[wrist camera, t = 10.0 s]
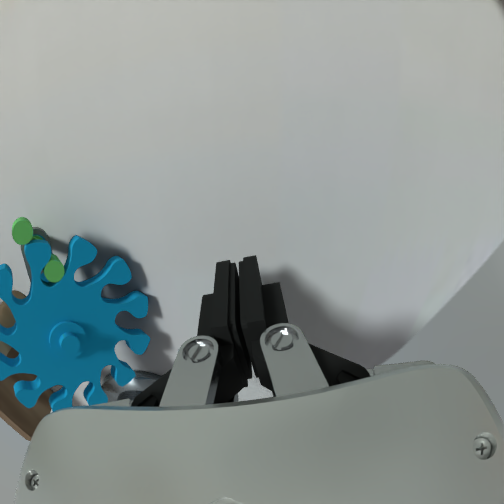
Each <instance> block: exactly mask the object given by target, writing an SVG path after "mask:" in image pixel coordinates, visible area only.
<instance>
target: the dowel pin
mask: <svg viewBox="0 0 504 504" xmlns="http://www.w3.org/2000/svg"><path fill="white" fill-rule="evenodd" d="M12 294H13V295H14V296H15V297H16V298H18V299H24V298H26V296H24V295H23V294H22V293H20V292H19V291H15V290H14V291H12ZM15 322H16V321H15V318H14V316H13V314H12V312H11V310H10V308H9V307H8V305H7V304H6V303H5V302H4V301H3V302H2V303H1V304H0V324H1V325H2V326H3V327H5V328H10V327H12V326H14V324H15ZM11 348H12V347H11V346H10V345H8V344H6V343H4V342H2V341H0V352H1V353H2V354H4V355H5V356H7V354H8V352H9V351H10V349H11Z"/></svg>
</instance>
